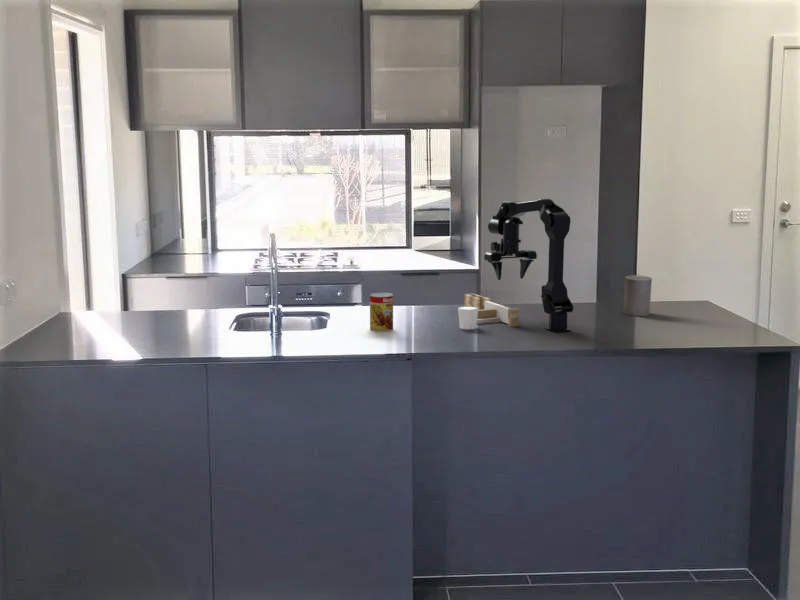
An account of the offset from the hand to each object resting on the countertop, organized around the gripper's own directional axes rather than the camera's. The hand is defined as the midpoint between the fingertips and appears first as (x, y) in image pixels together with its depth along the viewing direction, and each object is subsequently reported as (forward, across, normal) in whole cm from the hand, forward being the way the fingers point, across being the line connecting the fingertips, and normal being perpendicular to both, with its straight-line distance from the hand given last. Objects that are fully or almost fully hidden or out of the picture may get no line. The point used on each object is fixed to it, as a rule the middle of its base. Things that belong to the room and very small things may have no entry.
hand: (510, 279), depth 341 cm
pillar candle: (+14, -46, +13) cm, 50 cm away
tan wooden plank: (+14, +11, -2) cm, 18 cm away
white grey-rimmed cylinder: (+14, +23, +11) cm, 29 cm away
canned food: (+14, +51, +2) cm, 53 cm away
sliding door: (+13, +10, +4) cm, 17 cm away
